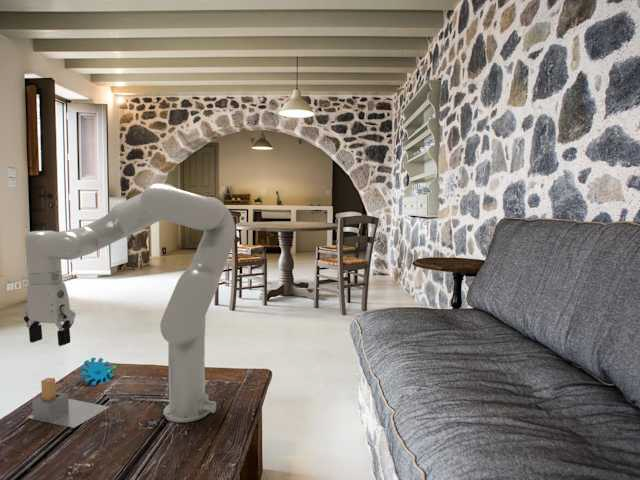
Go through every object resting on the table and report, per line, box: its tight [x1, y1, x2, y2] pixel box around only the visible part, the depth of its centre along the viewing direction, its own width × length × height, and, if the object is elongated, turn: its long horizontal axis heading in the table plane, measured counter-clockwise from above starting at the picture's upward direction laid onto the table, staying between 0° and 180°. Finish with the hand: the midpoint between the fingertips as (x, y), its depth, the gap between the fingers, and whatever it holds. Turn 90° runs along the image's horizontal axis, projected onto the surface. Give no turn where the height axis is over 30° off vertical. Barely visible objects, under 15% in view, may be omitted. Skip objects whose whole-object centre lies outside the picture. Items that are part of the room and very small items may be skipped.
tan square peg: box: [40, 377, 57, 401], centre depth 118 cm, size 2×2×10 cm
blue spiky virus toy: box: [80, 357, 117, 387], centre depth 143 cm, size 11×6×10 cm
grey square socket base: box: [26, 391, 110, 429], centre depth 121 cm, size 16×12×6 cm
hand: (50, 342), depth 117 cm, fingers open, 9 cm apart
